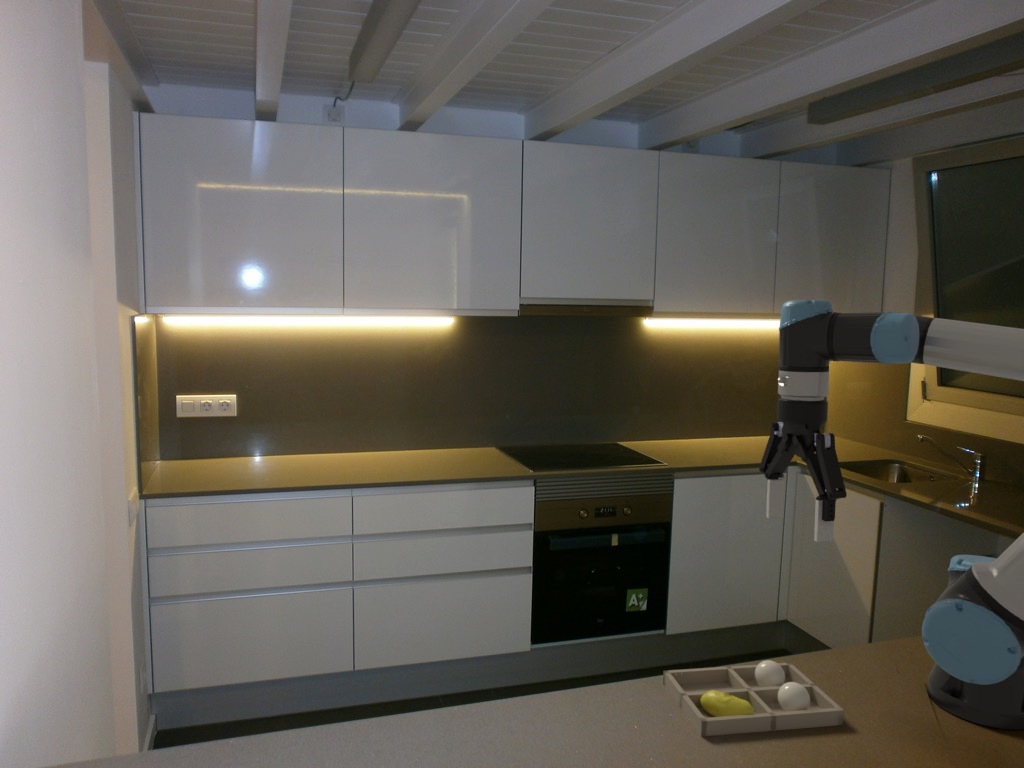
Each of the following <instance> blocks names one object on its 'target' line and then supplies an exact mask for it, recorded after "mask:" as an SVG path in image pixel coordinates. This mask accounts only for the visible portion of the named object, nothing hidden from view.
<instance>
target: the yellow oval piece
mask: <svg viewBox="0 0 1024 768" xmlns="http://www.w3.org/2000/svg"><path fill="white" fill-rule="evenodd" d="M700 702H701V706H702V707H703V709H704V710H705V711H706V712H708V713H709V714H711V715H713V716H715V717H723V716H736V715H749V714H755V712H754V709H753V707H752V706H751V704H750V703H749V702H748V701H746V700H743V699H740V698H737V697H735V696H733V695H730V694H726V693H723V692H719V691H716V690H710V691H708V692H706V693H705V694H703V696H702V697H701V699H700Z"/></svg>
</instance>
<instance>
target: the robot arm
mask: <svg viewBox="0 0 1024 768" xmlns="http://www.w3.org/2000/svg"><path fill="white" fill-rule="evenodd" d="M778 331H779V332H778V333H779V334H778V335H779V336H778V339H779V340H778V342H779V343H778V344H779V345H778V348H779V349H778V378H777V382H778V383H777V394H778V395H780V396H781V397H779V398H778V399H777V403H776V419H777V422H776V421H773V422H771V424H770V432H769V433H770V434H769V438H768V440H767V443H766V446H765V448H764V452H763V455H762V459H761V462H760V465H759V467H758V469H759V473H761V474H762V473H763V475H764V478H765V479H766V511H765V512H766V513H765V514H766V515H765V517H766V518H767V519H778V518H779V519H780V518H784V497H785V475H784V473H785V471H787V468H788V466H789V465H790V464H791V461H793V458H794V457H795V456H797V457H798V458H801V461H802V462H804V463H805V464H806V467H807V469H808V471H809V474H810V477H811V479H812V481H813V484H814V487H815V489H816V491H817V493H818V495H817V496H816V497H815V506H814V507H815V509H814V534H813V536H814V537H813V540H814V541H815V542H816V543H819V542H820V543H821V542H833V541H834V524H835V523H834V522H835V518H836V505H837V500H839V499H846V498H847V495H848V494H847V490H846V486H845V482H844V478H843V474H842V470H841V466H840V462H839V459H838V455H837V451H836V436H835V434H834V433H833V432H829V433H827V432H826V433H823V432H821V426H822V424H823V425H824V424H825V423H827V421H828V413H829V412H828V410H829V409H828V408H829V402H828V401H827V399H825V398H826V397H828V396H829V394H830V393H829V392H830V362H851V363H865V364H866V363H867V364H870V363H871V364H883V365H895V364H900V365H901V364H902V365H903V364H910V363H913V364H918V365H927V366H930V367H931V366H932V367H938V368H945V369H949V370H955V371H961V372H967V373H975V374H979V375H987V376H993V377H996V378H997V377H998V378H1003V379H1009V380H1015V381H1021V382H1024V328H1018V327H1013V326H1012V327H1011V326H1002V325H996V324H987V323H978V322H972V321H971V322H970V321H965V320H964V321H963V320H957V319H948V318H938V317H930V316H924V315H915V314H913V313H910V312H901V311H900V312H899V311H886V312H884V311H883V312H882V311H881V312H838V311H837V312H835V311H834V309H833V307H832V302H831V301H830V300H828V299H800V300H799V299H798V300H797V299H793V300H792V299H791V300H787V301H785V302H784V303H783V304H782V306H781V311H780V320H779V327H778ZM947 572H948V583H947V587H946V588H945V589H944V591H942V593H941V594H940V596H939V597H938V598H937V600H936V601H935V602H934V603H933V604H932V605H931V606H930V607H928V609H927V610H926V611H925V613H924V617H923V622H922V625H921V637H922V641H923V645H924V647H925V650H926V651H927V653H928V655H929V656H930V658H931V659H932V660H933V661H934V664H933V667H932V669H931V670H930V672H929V674H928V680H927V694H928V696H929V697H930V699H931V700H932V701H933V702H934V704H935V705H937V706H939V707H940V708H942V709H943V710H945V711H946V712H948V713H950V714H952V715H954V716H956V717H959V718H961V719H963V720H967V721H969V722H971V723H974V724H977V725H978V724H979V725H982V726H985V727H991V728H994V729H995V728H996V729H1003V730H1014V731H1015V730H1019V731H1020V730H1024V531H1023V533H1021V534H1020V536H1018V538H1016V539H1015V540H1014V541H1013V543H1011V544H1010V545H1009V546H1008V547H1007V548H1006V549H1005V550H1004V551H1003V552H1002V553H1001V554H1000V555H999V556H998V557H997V558H996V557H990V556H982V555H975V554H974V555H973V554H957V555H954V556H953V557H951V558H950V562H949V567H948V568H947Z"/></svg>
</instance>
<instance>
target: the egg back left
mask: <svg viewBox="0 0 1024 768" xmlns="http://www.w3.org/2000/svg"><path fill="white" fill-rule="evenodd" d="M778 702H779V704H780V706H781V707H782V709H783V710H784V711H786V712H787V711H800V710H808V708H809V706H810V696H809V693H808V691H807V690H806V689H805V687H803V686H802V685H801V684H799V683H796V682H788V683H785V684H783V685H782V686H781V687H780V689H779V691H778Z"/></svg>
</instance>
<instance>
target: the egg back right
mask: <svg viewBox="0 0 1024 768" xmlns="http://www.w3.org/2000/svg"><path fill="white" fill-rule="evenodd" d="M778 663H779V662H778ZM778 663H777V662H776V661H775V660H774V661H773V660H770V659H767V660H763V661H760V662H759V663H758V664H756V665H757V667H756V669H755V679H756V681H757V683H758V684H759V686H760V687H773V686H782V685H783V684H784V682H785V673H784V670H783V669H782V667H781V666H780V665H779V664H778Z"/></svg>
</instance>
